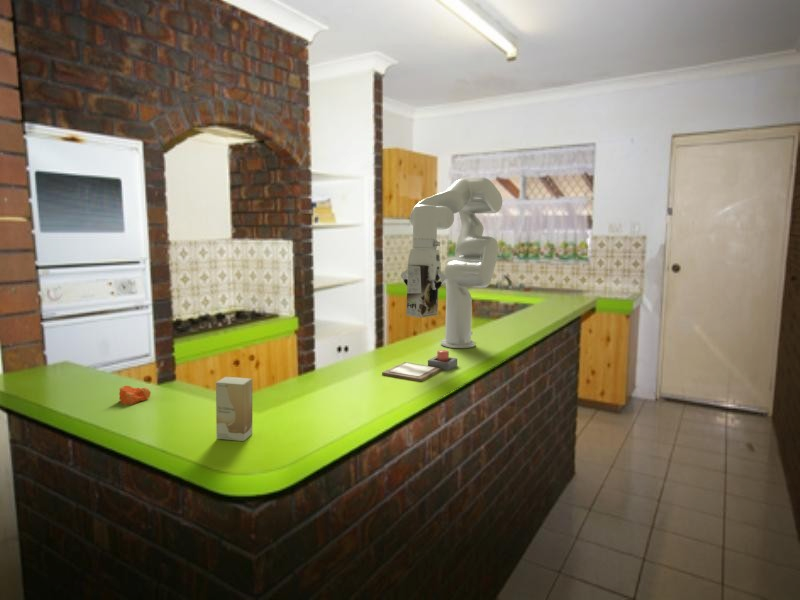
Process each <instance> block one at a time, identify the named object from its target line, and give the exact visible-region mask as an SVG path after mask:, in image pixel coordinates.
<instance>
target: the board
mask: <svg viewBox="0 0 800 600" xmlns="http://www.w3.org/2000/svg"><path fill="white" fill-rule="evenodd" d="M441 371H443V370H442V368H440V367H433V366H428V364H427V365H426V364H425V365H424V364H421V363H420V364H419V363H412V362H407V361H406V362H405V361H404V362H402V363H399V364H397V365H395V366H392V367H391V368H389V369H386V370H384V371H383V372H381V375H382V376H384V377H386V376H387V377H392V378H398V379H403V380H409V381H415V382H423V381H425V380H427V379H428V378H430V377H432V376H434V375H436V374H438V373H440V372H441Z"/></svg>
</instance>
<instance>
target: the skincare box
mask: <svg viewBox="0 0 800 600" xmlns="http://www.w3.org/2000/svg"><path fill="white" fill-rule="evenodd" d="M215 402H216V404H215V405H216V406H215V407H216V408H215V412H216V413H215V415H216V416H215V417H216V422H215V423H216V427H215V429H216V439H218V440H228V441H236V442H237V441H239V442H244V441H246V440H247V439H248V438H250V437H251V436H252V435H253V378H247V377H232V376H224V377H223V378H221V379H219V380H217V381H216V382H215Z"/></svg>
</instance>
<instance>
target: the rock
mask: <svg viewBox="0 0 800 600" xmlns="http://www.w3.org/2000/svg"><path fill="white" fill-rule="evenodd" d="M151 393H152V392H151V390H150V388H146V387H142V388H140V387H132V386H130V385H123V386H121V387H120V388H119V394H118V395H119V398H118V399H119V400H120V403H122V404H123V405H125V406H126V405H127V406H128V405H134V404H137V403H139V402H141V401H142V402H143V401H146V400H148V399H149V398H150V397H151Z"/></svg>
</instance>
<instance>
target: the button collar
mask: <svg viewBox="0 0 800 600" xmlns="http://www.w3.org/2000/svg"><path fill="white" fill-rule="evenodd" d="M427 366H433V367H440V368H442V370H441V371H447V372H449V371H451V370H452V369H454V368H456V367H458V358H456V357H450V356H449V361H447V362H444V361H437V355H435V356H434V357H432V358H429V359H428V360H427Z"/></svg>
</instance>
